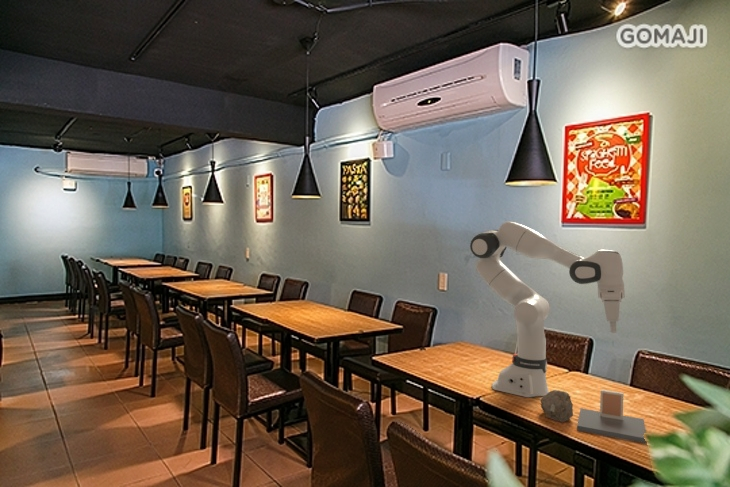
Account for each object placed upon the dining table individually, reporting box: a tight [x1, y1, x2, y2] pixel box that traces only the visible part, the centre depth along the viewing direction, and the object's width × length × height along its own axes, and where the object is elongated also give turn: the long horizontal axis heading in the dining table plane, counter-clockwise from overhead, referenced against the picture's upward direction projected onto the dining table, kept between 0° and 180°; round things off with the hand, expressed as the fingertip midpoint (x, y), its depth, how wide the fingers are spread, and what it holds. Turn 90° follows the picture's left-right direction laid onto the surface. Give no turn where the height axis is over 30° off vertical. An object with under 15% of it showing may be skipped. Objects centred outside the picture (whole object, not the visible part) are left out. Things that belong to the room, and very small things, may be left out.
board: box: [576, 408, 647, 444], centre depth 163 cm, size 20×18×2 cm
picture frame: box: [599, 389, 624, 420], centre depth 167 cm, size 7×2×9 cm, turn 62°
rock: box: [540, 389, 574, 423], centre depth 170 cm, size 14×10×8 cm
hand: (613, 330), depth 178 cm, fingers open, 8 cm apart
